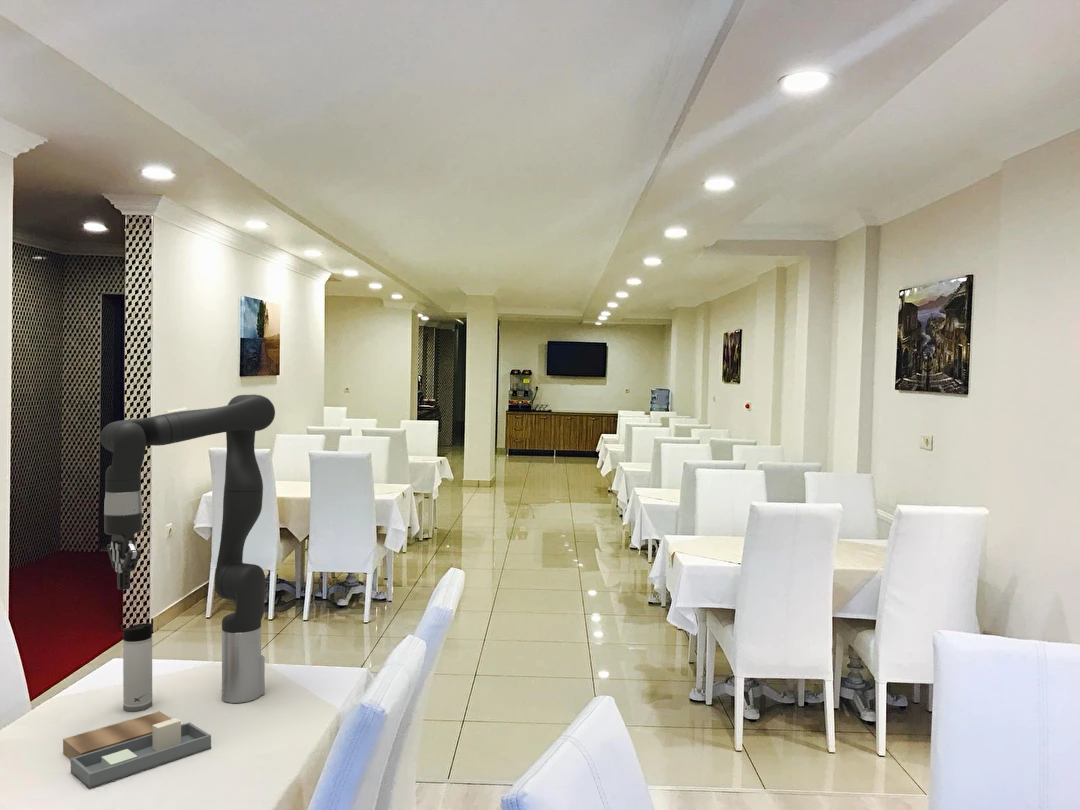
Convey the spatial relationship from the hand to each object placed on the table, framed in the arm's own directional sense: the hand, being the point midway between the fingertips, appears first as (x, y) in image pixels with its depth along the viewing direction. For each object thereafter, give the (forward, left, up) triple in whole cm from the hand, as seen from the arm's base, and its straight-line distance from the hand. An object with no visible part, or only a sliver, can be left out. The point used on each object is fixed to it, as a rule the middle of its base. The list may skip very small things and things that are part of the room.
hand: (123, 588), depth 182 cm
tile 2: (-3, +14, -29) cm, 33 cm away
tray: (+3, +18, -32) cm, 37 cm away
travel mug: (-8, -12, -32) cm, 35 cm away
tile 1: (+8, +19, -29) cm, 36 cm away
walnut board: (+3, +7, -32) cm, 33 cm away
